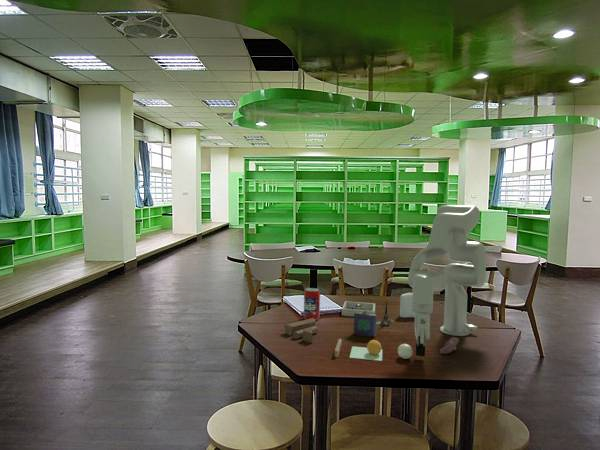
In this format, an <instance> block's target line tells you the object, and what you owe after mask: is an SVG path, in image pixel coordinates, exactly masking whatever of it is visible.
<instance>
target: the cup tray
mask: <svg viewBox="0 0 600 450" xmlns="http://www.w3.org/2000/svg"><path fill="white" fill-rule="evenodd" d="M356 304H361V305H362V309H361V310H356V307H355V306H356ZM352 308H353V309H352ZM364 310H368V311H367V314H375V315H376V303H372V302H359V301H347V300H346V301H344V303H343V306H342V308H341V316H343V317H345V316H346V317H353V318H354V314H355V312H359V311H360V313H361V312H364Z"/></svg>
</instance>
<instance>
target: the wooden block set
mask: <svg viewBox="0 0 600 450" xmlns="http://www.w3.org/2000/svg"><path fill="white" fill-rule="evenodd" d="M316 323H317V320H315V319H314V318H310V319H307V320H306V319H303V320H297V321H294V322H290V323H285V324H284V334H285V335H287V336H290V337H293V338H294V339H296V340H298V339H302V341H304V342H307V343H308V344H309V343H310V344H313V335H315V334H317V333H318V332H319V328H318V327H317V325H316Z"/></svg>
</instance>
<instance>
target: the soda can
mask: <svg viewBox="0 0 600 450" xmlns="http://www.w3.org/2000/svg"><path fill="white" fill-rule="evenodd" d="M320 305H321V292H320V290H319V288H314V287H308V288H305V291H304V292H303V318H304V320H307V319H310V318H314V319H315V320H316V321H318V320H319V319H320V315H321V314H320V310H321V309H320V308H321V306H320Z"/></svg>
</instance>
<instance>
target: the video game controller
mask: <svg viewBox="0 0 600 450" xmlns="http://www.w3.org/2000/svg"><path fill="white" fill-rule="evenodd" d="M459 342H460V339H459V338H458V337H456V336H453V337H450V339H449V340H447V341H446V342H445V343H444V346H443V347H440V349H439V353H440V354H441V355H447V354H451V353H452V352H453V351H454V350H455V351H456V350H457V347H456V346H457V345H458V344H459Z"/></svg>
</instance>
